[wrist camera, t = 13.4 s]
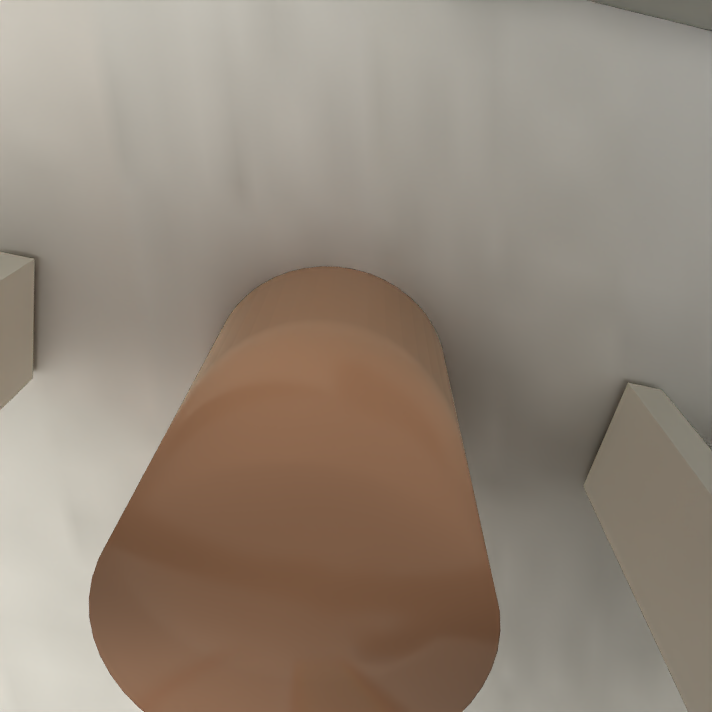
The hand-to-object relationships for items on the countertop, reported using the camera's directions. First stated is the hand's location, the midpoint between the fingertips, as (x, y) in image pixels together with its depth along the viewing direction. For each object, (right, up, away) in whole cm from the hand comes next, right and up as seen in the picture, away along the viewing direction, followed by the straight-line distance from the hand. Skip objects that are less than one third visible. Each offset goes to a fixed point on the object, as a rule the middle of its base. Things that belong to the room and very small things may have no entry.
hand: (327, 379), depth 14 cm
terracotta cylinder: (0, 0, 0) cm, 0 cm away
